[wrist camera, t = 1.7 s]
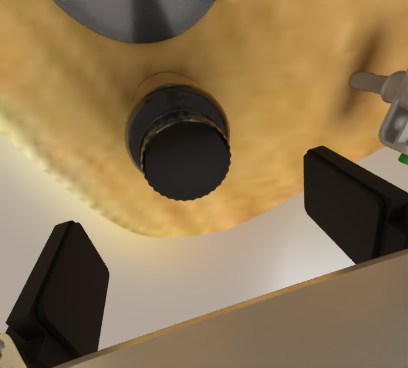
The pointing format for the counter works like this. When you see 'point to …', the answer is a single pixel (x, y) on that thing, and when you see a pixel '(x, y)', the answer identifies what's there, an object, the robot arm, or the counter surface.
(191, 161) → the supplement bottle
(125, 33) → the plate
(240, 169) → the counter surface
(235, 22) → the counter surface
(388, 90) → the mechanical component
